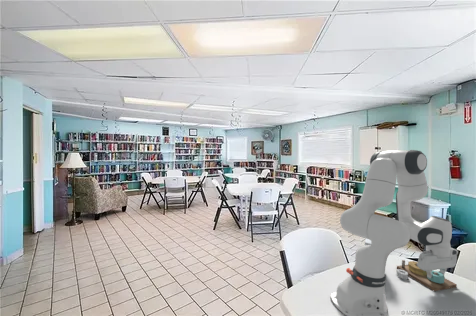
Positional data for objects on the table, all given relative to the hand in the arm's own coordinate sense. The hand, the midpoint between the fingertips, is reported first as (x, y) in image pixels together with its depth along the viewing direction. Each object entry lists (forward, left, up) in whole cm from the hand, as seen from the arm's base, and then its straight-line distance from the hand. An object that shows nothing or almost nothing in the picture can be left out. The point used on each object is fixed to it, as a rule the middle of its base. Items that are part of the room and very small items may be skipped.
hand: (435, 276), depth 109 cm
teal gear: (0, 0, -2) cm, 2 cm away
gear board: (0, +5, -4) cm, 6 cm away
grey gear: (-11, +8, -4) cm, 14 cm away
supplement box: (-22, +15, -4) cm, 27 cm away
